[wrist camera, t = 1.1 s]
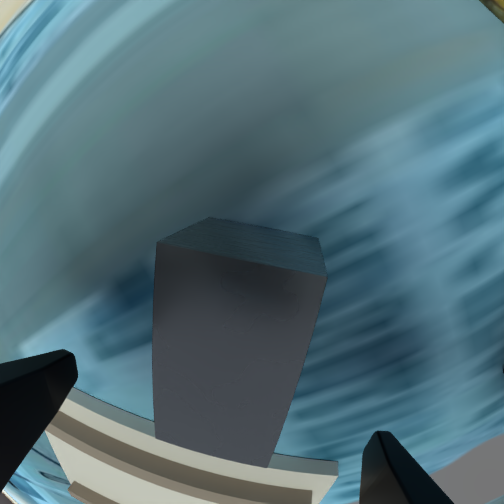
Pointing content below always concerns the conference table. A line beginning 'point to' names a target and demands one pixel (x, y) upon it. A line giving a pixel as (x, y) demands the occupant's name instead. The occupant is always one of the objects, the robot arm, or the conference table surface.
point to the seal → (495, 7)
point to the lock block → (231, 335)
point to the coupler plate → (167, 464)
